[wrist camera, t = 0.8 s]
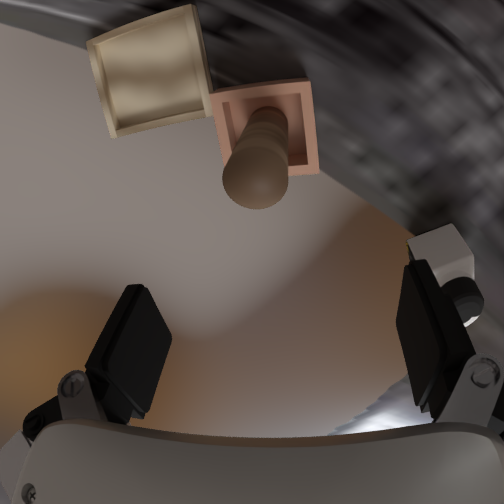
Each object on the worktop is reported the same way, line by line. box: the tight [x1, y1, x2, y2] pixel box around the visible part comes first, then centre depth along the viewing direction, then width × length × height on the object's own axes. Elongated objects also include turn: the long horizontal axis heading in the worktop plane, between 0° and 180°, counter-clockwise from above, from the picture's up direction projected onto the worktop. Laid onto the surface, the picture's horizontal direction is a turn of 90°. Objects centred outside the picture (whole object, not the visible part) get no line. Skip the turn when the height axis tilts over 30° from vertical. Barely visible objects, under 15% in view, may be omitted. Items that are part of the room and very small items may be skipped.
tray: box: [86, 4, 214, 139], centre depth 27 cm, size 12×12×2 cm
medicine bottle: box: [406, 223, 484, 327], centre depth 33 cm, size 7×7×12 cm
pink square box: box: [209, 77, 319, 176], centre depth 29 cm, size 9×9×4 cm
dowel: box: [222, 106, 288, 209], centre depth 24 cm, size 4×4×14 cm
